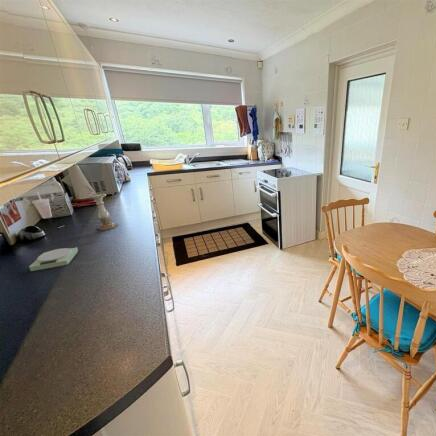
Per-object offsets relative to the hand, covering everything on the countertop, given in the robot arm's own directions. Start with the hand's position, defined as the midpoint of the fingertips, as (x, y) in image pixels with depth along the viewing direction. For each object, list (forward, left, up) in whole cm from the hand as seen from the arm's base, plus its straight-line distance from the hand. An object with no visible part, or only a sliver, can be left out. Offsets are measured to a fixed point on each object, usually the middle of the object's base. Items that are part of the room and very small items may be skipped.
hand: (42, 203), depth 121 cm
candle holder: (+24, +1, -19) cm, 30 cm away
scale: (+12, -34, -18) cm, 41 cm away
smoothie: (0, +1, -8) cm, 8 cm away
